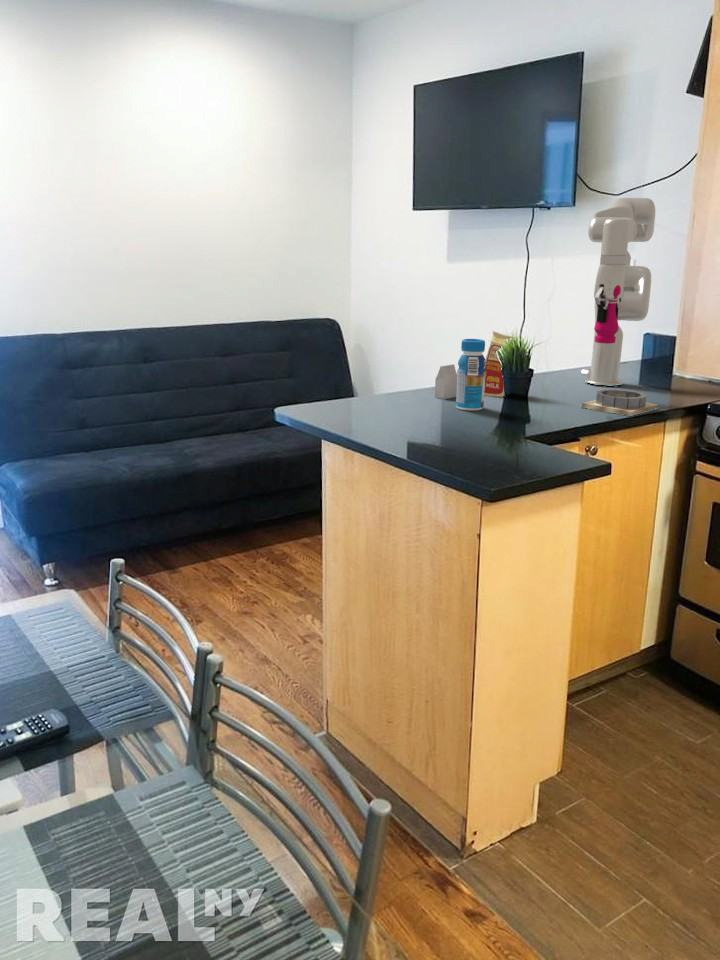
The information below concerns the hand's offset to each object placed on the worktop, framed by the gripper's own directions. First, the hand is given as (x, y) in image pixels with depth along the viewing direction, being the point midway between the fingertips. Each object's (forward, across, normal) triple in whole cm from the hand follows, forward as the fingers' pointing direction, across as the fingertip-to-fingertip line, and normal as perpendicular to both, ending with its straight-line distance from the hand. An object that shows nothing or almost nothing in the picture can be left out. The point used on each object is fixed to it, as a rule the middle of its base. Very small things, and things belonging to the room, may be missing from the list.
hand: (606, 320), depth 252 cm
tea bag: (+24, +38, -31) cm, 55 cm away
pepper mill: (+7, 0, 0) cm, 7 cm away
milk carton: (+24, +21, -24) cm, 40 cm away
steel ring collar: (+22, +11, +14) cm, 28 cm away
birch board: (+24, +11, +14) cm, 30 cm away
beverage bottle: (+23, +46, -15) cm, 54 cm away
